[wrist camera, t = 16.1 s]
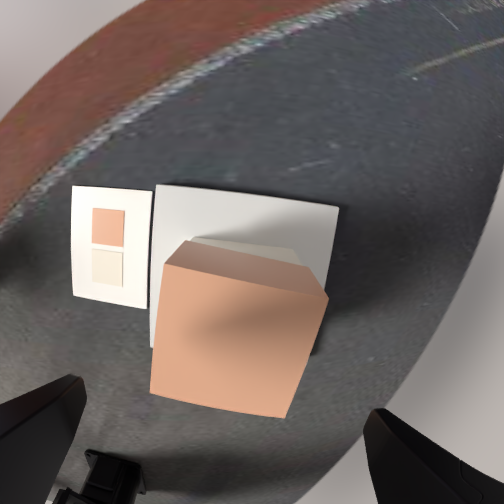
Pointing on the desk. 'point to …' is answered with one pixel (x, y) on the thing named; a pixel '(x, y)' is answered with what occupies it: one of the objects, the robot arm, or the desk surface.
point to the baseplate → (238, 227)
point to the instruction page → (110, 244)
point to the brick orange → (234, 329)
